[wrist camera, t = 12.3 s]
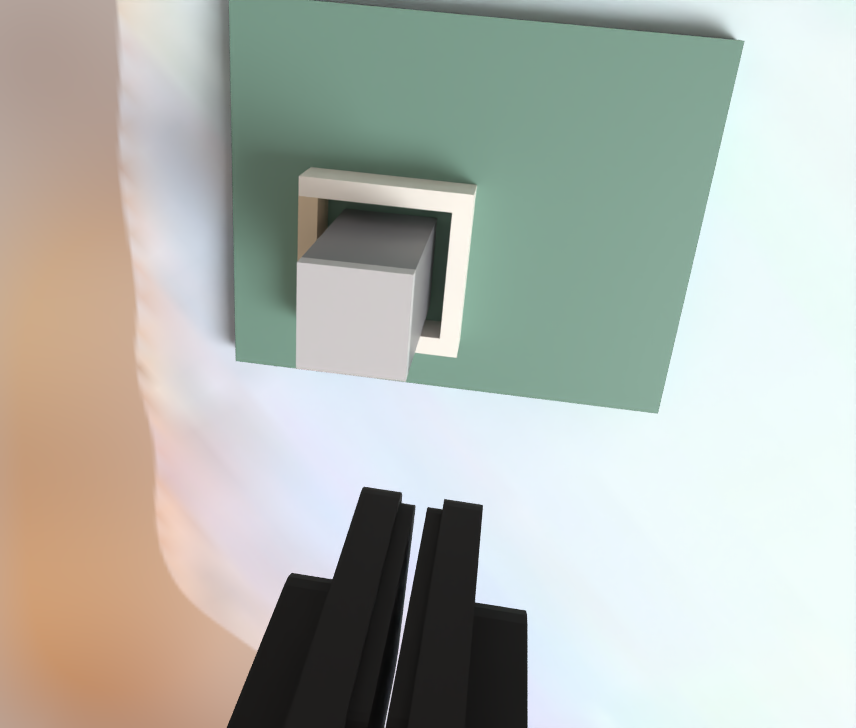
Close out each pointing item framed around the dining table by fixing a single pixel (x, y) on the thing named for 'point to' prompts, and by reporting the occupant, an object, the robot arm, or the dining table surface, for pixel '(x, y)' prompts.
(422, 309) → the plug
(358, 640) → the robot arm
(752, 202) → the dining table surface
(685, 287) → the board
